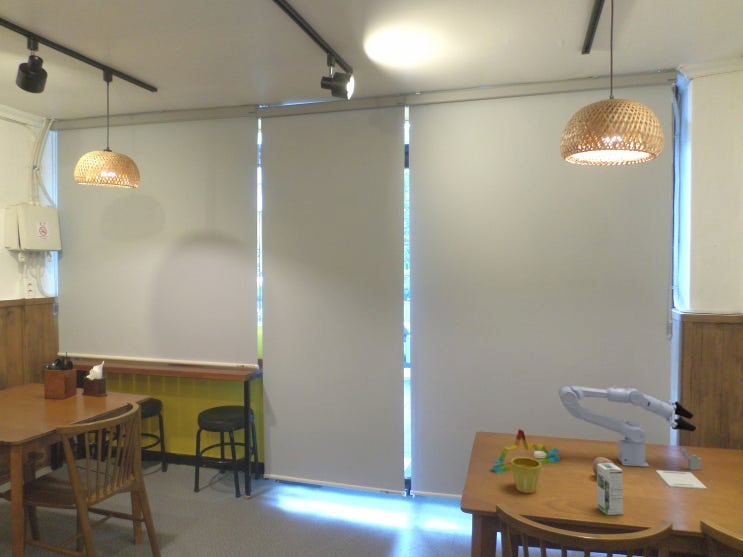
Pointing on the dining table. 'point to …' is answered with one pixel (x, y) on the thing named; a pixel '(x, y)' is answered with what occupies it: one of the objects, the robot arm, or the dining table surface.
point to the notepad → (680, 479)
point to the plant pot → (525, 473)
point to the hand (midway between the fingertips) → (693, 423)
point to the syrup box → (610, 489)
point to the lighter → (692, 460)
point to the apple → (599, 461)
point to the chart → (521, 435)
